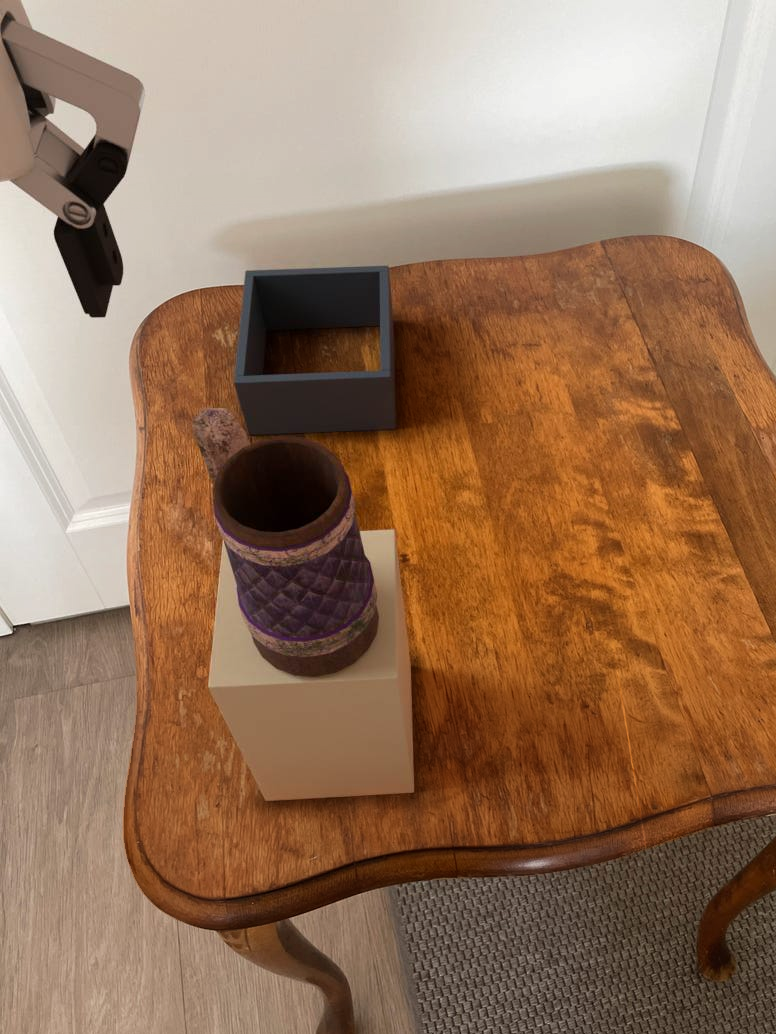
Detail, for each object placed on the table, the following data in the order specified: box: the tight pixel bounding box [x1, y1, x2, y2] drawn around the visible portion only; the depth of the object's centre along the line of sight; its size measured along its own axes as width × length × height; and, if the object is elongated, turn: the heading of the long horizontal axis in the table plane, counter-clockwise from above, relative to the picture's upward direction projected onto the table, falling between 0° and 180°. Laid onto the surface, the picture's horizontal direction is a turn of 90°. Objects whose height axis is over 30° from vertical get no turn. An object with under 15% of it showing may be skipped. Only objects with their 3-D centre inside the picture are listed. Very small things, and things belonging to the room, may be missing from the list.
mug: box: [191, 407, 379, 677], centre depth 47 cm, size 10×7×12 cm
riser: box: [207, 528, 415, 802], centre depth 59 cm, size 10×10×16 cm
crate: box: [233, 265, 397, 436], centre depth 82 cm, size 13×14×6 cm
